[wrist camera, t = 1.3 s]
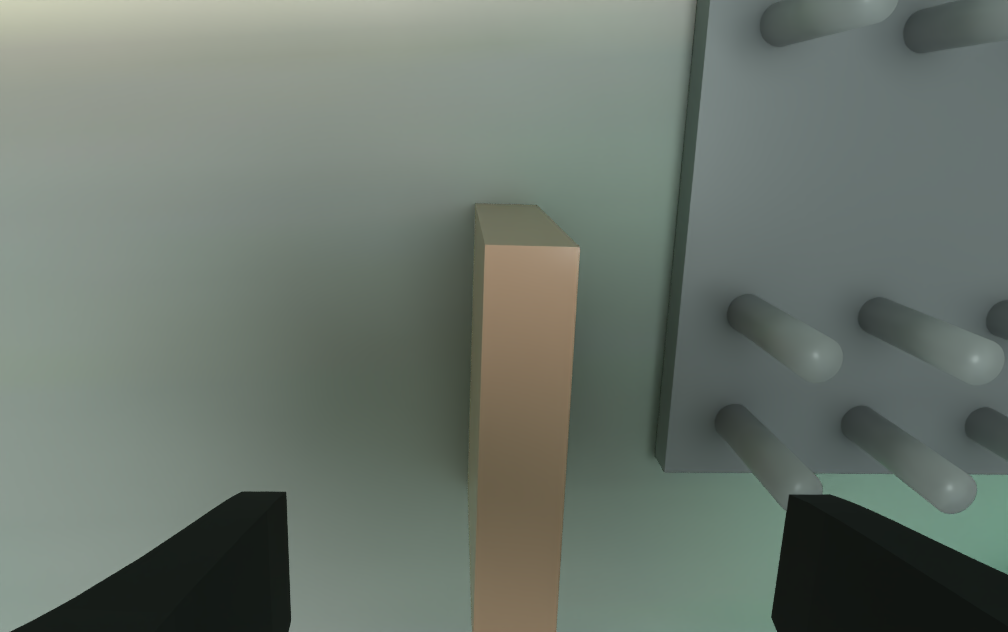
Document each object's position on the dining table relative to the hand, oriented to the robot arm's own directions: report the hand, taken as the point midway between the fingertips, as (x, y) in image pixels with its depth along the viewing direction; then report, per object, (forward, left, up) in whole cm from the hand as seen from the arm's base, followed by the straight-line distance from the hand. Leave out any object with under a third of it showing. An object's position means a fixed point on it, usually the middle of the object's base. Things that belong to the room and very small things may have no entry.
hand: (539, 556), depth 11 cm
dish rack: (+5, -12, -10) cm, 16 cm away
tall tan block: (0, 0, -10) cm, 10 cm away
